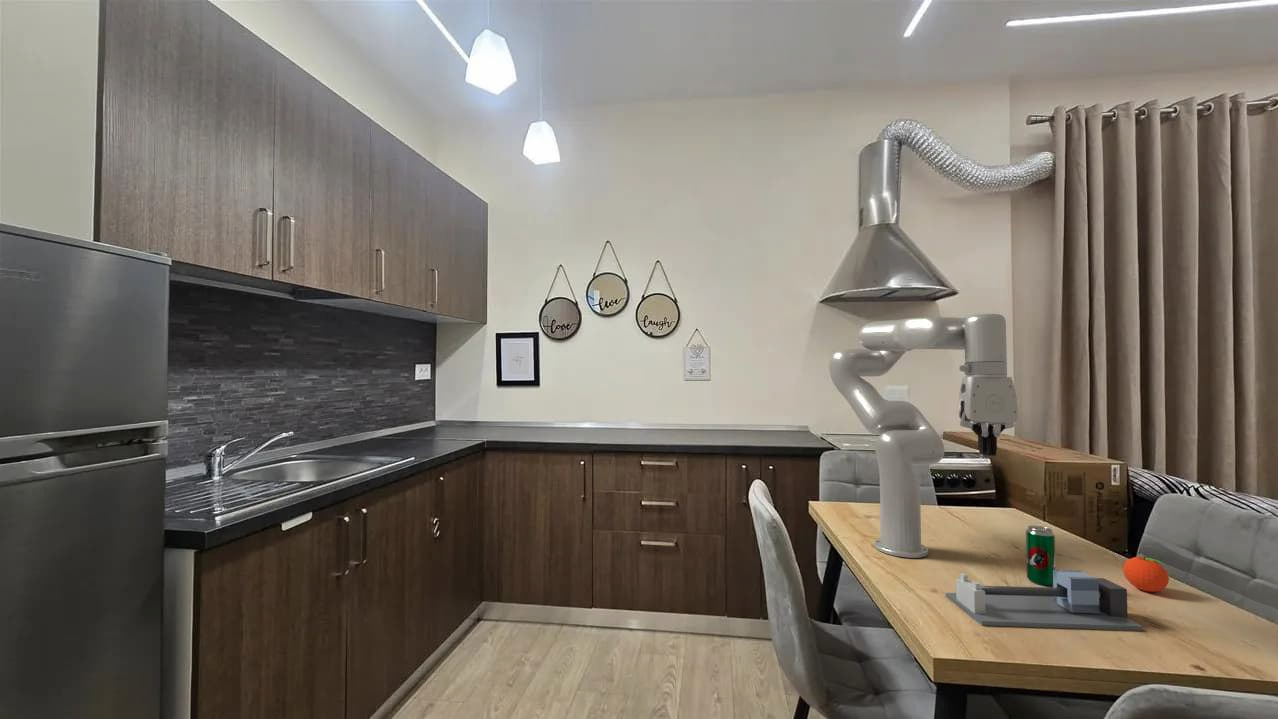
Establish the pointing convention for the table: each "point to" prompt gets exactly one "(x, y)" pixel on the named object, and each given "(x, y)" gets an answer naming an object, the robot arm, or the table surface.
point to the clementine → (1146, 574)
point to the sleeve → (1077, 591)
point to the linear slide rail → (1040, 606)
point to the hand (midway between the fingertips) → (987, 454)
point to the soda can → (1040, 555)
